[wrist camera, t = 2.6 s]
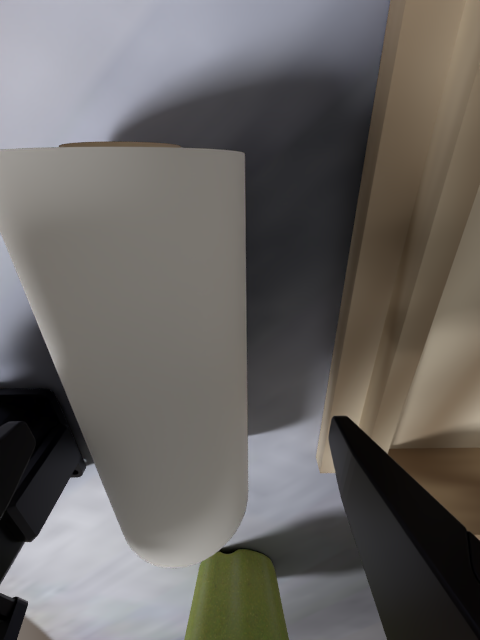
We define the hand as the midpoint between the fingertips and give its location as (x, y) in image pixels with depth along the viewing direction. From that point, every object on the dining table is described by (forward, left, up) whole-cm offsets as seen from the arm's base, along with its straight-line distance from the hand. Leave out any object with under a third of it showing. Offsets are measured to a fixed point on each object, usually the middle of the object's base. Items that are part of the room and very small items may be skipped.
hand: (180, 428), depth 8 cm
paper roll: (0, 0, -5) cm, 5 cm away
